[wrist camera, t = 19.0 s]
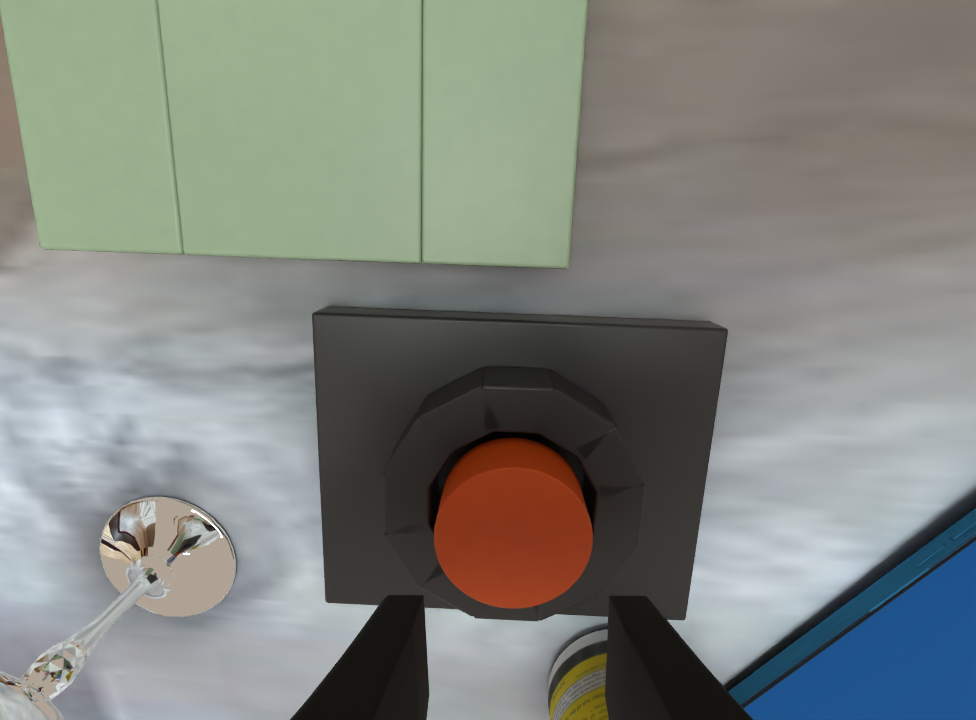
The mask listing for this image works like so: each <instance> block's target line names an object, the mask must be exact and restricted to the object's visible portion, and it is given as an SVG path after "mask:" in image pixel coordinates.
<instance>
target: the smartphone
mask: <svg viewBox="0 0 976 720" xmlns="http://www.w3.org/2000/svg"><path fill="white" fill-rule="evenodd" d="M728 692H729V693H730V694H731V695H732V697H733V698H734V699H735V700H736V701H737V702H738V703H739V704H740V705H741V706H742V708H743V709H744V710H745V711H746V712H747V713H748V714H749V715H750V716H751V717H752V718H753V719H754V720H976V508H975V509H974V510H972V511H971V512H970V513H968V514H967V515H966V516H964V517H963V518H962V519H960V520H959V521H957V522H956V523H955V524H953V525H952V526H951V527H949V528H948V529H947V530H945V531H944V532H943V533H941V534H940V535H939V536H937V537H936V538H934V539H933V540H932V541H930V542H929V543H928V544H926V545H925V546H924V547H922V548H921V549H920V550H918V551H917V552H915V553H914V554H913V555H911V556H910V557H909V558H907V559H906V560H905V561H903V562H902V563H901V564H899V565H898V566H897V567H895V568H894V569H892V570H891V571H890V572H888V573H887V574H886V575H884V576H883V577H882V578H880V579H879V580H878V581H876V582H875V583H874V584H872V585H871V586H869V587H868V588H867V589H865V590H864V591H863V592H861V593H860V594H859V595H857V596H856V597H855V598H853V599H852V600H851V601H849V602H848V603H846V604H845V605H844V606H842V607H841V608H840V609H838V610H837V611H836V612H834V613H833V614H832V615H830V616H829V617H828V618H826V619H825V620H823V621H822V622H821V623H819V624H818V625H817V626H815V627H814V628H813V629H811V630H810V631H809V632H807V633H806V634H805V635H803V636H802V637H800V638H799V639H798V640H796V641H795V642H794V643H792V644H791V645H790V646H788V647H787V648H786V649H784V650H783V651H782V652H780V653H779V654H777V655H776V656H775V657H773V658H772V659H771V660H769V661H768V662H767V663H765V664H764V665H763V666H761V667H760V668H758V669H757V670H756V671H754V672H753V673H752V674H750V675H749V676H748V677H746V678H745V679H744V680H742V681H741V682H740V683H738V684H737V685H735V686H734V687H733V688H731V689H730V690H729V691H728Z"/></svg>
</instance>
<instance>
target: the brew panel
mask: <svg viewBox="0 0 976 720" xmlns="http://www.w3.org/2000/svg"><path fill="white" fill-rule="evenodd" d="M312 323H313V344H314V365H315V387H316V408H317V429H318V451H319V472H320V493H321V515H322V536H323V557H324V578H325V599H326V602H327V603H342V604H363V605H379V604H380V603H381V601H382V600H383V599H384V598H385V597H386V596H388V595H424V608H444V609H459V610H461V611H463V612H465V613H466V614H468V615H470V616H474V617H475V618H481V619H501V620H521V621H538V620H543V619H545V618H548V617H550V616H553V615H555V614H565V615H586V616H606V617H608V614H609V596H647V597H648V598H649V599H650V600H651V601H652V602H653V604H654V605H655V606H656V607H657V609H658V610H659V611H660V612H661V613H662V615H663V616H664V617H665V618H666V619H667V620H685V618H686V611H687V604H688V598H689V591H690V584H691V577H692V571H693V564H694V557H695V550H696V544H697V537H698V530H699V523H700V517H701V510H702V503H703V496H704V490H705V483H706V476H707V469H708V463H709V456H710V449H711V443H712V436H713V429H714V422H715V416H716V409H717V402H718V395H719V389H720V382H721V375H722V368H723V362H724V355H725V348H726V341H727V335H728V330H727V329H726V328H724V327H721V326H719V325H717V324H715V323H712V322H710V321H686V320H660V319H635V318H609V317H583V316H557V315H532V314H506V313H480V312H454V311H429V310H403V309H377V308H351V307H325V308H323V309H321V310H319V311H316V312H314V313H313V315H312ZM501 438H523V439H528V440H532V441H536V442H538V443H541V444H543V445H545V446H547V447H549V448H551V449H553V450H554V451H555V452H557V453H558V454H559V455H561V456H562V457H563V458H564V459H565V460H566V461H567V463H568V464H569V465H570V466H571V468H572V469H573V471H574V472H575V474H576V476H577V479H578V481H579V484H580V487H581V491H582V494H583V497H584V501H585V504H586V507H587V511H588V514H589V517H590V521H591V524H592V531H593V545H592V551H591V555H590V558H589V561H588V563H587V565H586V567H585V569H584V571H583V573H582V574H581V576H580V577H579V579H578V580H577V581H576V582H575V583H574V584H573V585H572V586H571V587H570V588H569V589H568V590H567V591H565V592H564V593H563V594H561V595H560V596H558V597H556V598H554V599H552V600H550V601H548V602H546V603H543V604H540V605H537V606H532V607H527V608H500V607H495V606H491V605H488V604H485V603H482V602H479V601H477V600H475V599H473V598H471V597H470V596H468V595H466V594H465V593H463V592H462V591H461V590H460V589H458V588H457V587H456V586H455V585H454V584H453V583H452V582H451V581H450V580H449V578H448V577H447V575H446V574H445V573H444V571H443V569H442V567H441V565H440V563H439V561H438V558H437V555H436V551H435V546H434V527H435V523H436V518H437V514H438V510H439V505H440V501H441V497H442V492H443V488H444V484H445V481H446V479H447V476H448V474H449V472H450V471H451V469H452V467H453V466H454V465H455V464H456V462H457V461H458V460H459V459H460V458H461V457H462V456H463V455H464V454H466V453H467V452H468V451H470V450H471V449H473V448H474V447H476V446H478V445H480V444H483V443H485V442H488V441H491V440H495V439H501Z"/></svg>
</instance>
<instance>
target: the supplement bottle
mask: <svg viewBox="0 0 976 720" xmlns="http://www.w3.org/2000/svg"><path fill="white" fill-rule="evenodd" d="M607 637H608V629H605V630H600V631H596V632H593V633H590V634H587V635H585V636H583V637H581V638H579V639H577V640H576V641H574V642H573V643H572V644H570V645H569V646H568V647H567V648H566V649H565V650H564V651H563V652H562V653H561V654H560V656H559V657H558V659H557V660H556V662H555V664H554V666H553V668H552V671H551V674H550V678H549V684H548V705H549V713H550V720H609V718H608V712H607V706H606V699H605V682H606V660H607Z"/></svg>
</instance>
